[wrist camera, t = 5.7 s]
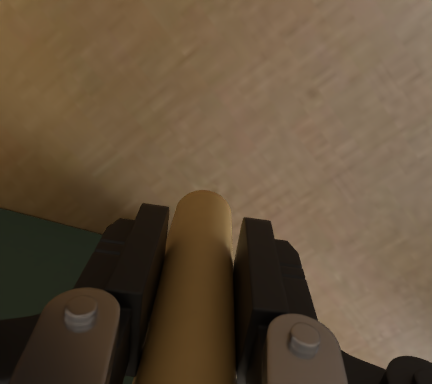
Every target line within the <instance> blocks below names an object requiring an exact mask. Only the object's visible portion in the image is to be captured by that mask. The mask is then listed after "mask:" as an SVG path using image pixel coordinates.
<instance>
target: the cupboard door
mask: <svg viewBox="0 0 432 384" xmlns="http://www.w3.org/2000/svg"><path fill="white" fill-rule="evenodd" d="M101 237H102V235H101V234H97V233H93V232H90V231H86V230H82V229H78V228H74V227H70V226H67V225H63V224H59V223H55V222H51V221H47V220H44V219H40V218H36V217H32V216H28V215H24V214H21V213H17V212H13V211H9V210H5V209H1V208H0V320H3V319H11V318H20V317H27V316H32V315H36V314H40V313H42V311H43V309H44V307H45V306H46V305H47V303H48V302H49V301H50V300H52V299H53V298H54V297H56V296H57V295H59V294H61V293H63V292H65V291H68V290H71V289H73V288H74V286H75V284H76V282H77V280H78V279H79V277H80V275H81V273H82V271H83V270H84V268H85V266H86V264H87V262H88V260H89V259H90V257H91V255H92V253H93V252H94V251H95V248H96V246H97V244H98V242H100V239H101ZM123 384H237V373H236V343H235V314H234V284H233V254H232V224H231V210H230V207H229V205H228V203H227V202H226V200H225V199H224V198H223V197H221V196H220V195H218V194H217V193H214V192H212V191H207V190H199V191H194V192H191V193H189V194H187V195H186V196H184V197H183V198H182V199H181V200H180V201H179V203H178V205H177V207H176V211H175V214H174V218H173V221H172V224H171V228H170V231H169V234H168V238H167V241H166V250H165V259H164V263H163V267H162V271H161V276H160V280H159V284H158V288H157V293H156V297H155V301H154V305H153V310H152V314H151V318H150V323H149V327H148V331H147V335H146V340H145V344H144V347H143V350H142V354H141V358H140V363H139V367H138V371H137V375H136V377H131V376H125V377H124V381H123Z"/></svg>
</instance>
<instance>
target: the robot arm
mask: <svg viewBox="0 0 432 384" xmlns="http://www.w3.org/2000/svg"><path fill="white" fill-rule="evenodd" d="M168 220H169V207H167V206H160V205H152V204H145V203H143V204H142V205H141V207H140V210H139V212H138V214H137V216H136V219H135V220H129V219H122V218H120V219H118V220H117V221H115V222H114V223H113V224H111V225H110V226H108V227H107V228H106V230H105V232H104V233H103V235H102V237H101V239H100V242H98V244H97V246H96V248H95V251H94V252H93V253H92V255H91V257H90V259H89V260H88V262H87V264H86V266H85V268H84V270H83V271H82V273H81V275H80V277H79V279H78V280H77V282H76V284H75V286H74V288H73V289H71V290H68V291H65V292H63V293H61V294H59V295H57V296H56V297H54V298H53V299H52V300H50V301H49V302H48V303H47V305H46V306H45V307H44V309H43V311H42V313H40V314H36V315H32V316H27V317H20V318H11V319H3V320H0V384H123V381H124V377H125V376H131V377H136V375H137V371H138V367H139V363H140V358H141V354H142V350H143V347H144V344H145V340H146V335H147V331H148V327H149V323H150V318H151V314H152V310H153V305H154V301H155V297H156V293H157V288H158V284H159V280H160V276H161V271H162V267H163V263H164V259H165V250H166V240H167V230H168ZM233 284H234V314H235V343H236V373H237V384H432V363H431V362H428V361H426V360H423V359H420V358H417V357H412V356H400V357H397V358H395V359H393V360H392V361H391V362H390V363H389V365H388V367H387V369H386V370H385V369H383V368H380V367H378V366H375V365H373V364H370V363H368V362H365V361H362V360H360V359H357V358H355V357H353V356H351V355H349V354H347V353H345V352H343V351H342V350H341V349H340V346H339V343H338V341H337V339H336V337H335V336H334V334H333V333H332V332H331V331H330V330H329V329H328V328H327V327H326V326H325V325H323V324H322V323H320V322H319V321H318V319H317V316H316V313H315V309H314V306H313V302H312V299H311V295H310V292H309V289H308V285H307V282H306V280H305V275H304V272H303V269H302V265H301V261H300V258H299V254H298V252H297V251H296V250H295V249H294V248H293V247H292V246H291V244H290V243H289V242H288V241H284V240H277V239H274V234H273V230H272V225H271V221H269V220H261V219H254V218H247V217H244V218H243V221H242V225H241V230H240V235H239V240H238V245H237V250H236V255H235V260H234V266H233Z"/></svg>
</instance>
